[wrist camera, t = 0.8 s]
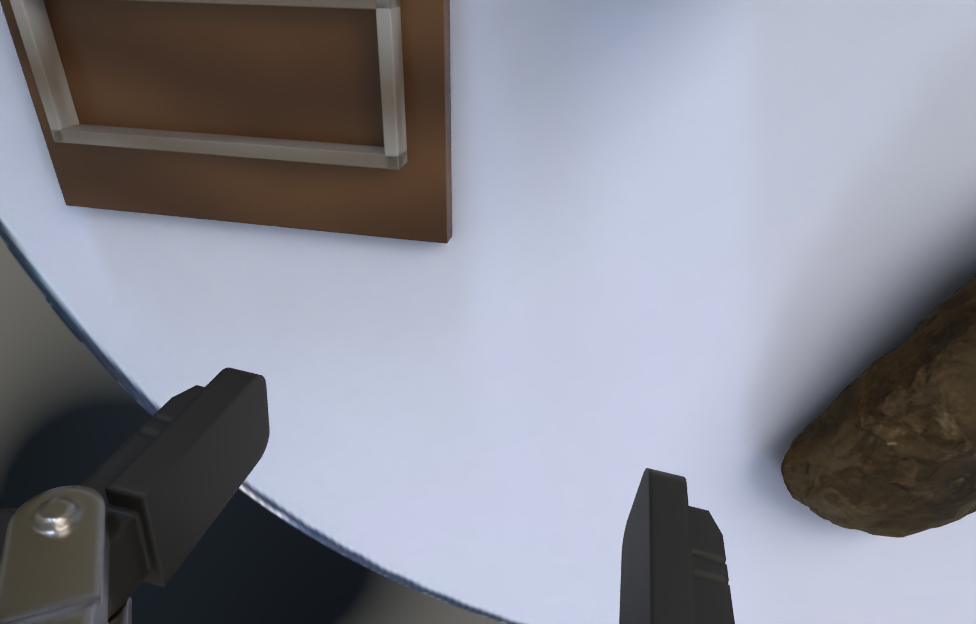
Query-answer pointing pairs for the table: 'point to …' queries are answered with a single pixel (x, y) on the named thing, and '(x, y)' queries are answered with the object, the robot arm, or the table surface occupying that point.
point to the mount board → (247, 109)
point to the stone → (899, 434)
